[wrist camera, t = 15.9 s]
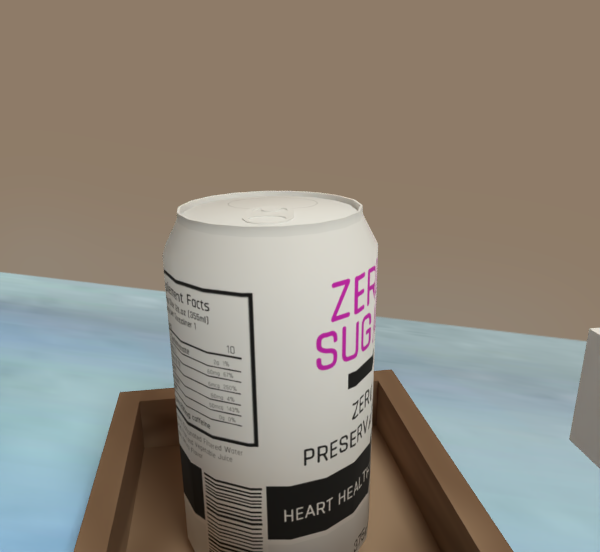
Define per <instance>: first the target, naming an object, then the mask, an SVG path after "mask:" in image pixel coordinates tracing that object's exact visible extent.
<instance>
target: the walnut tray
mask: <svg viewBox="0 0 600 552" xmlns="http://www.w3.org/2000/svg"><path fill="white" fill-rule="evenodd" d="M74 552H195V551H194V549H193V547H192V545H191V543H190V541H189V539H188V533H187V522H186V511H185V500H184V488H183V477H182V466H181V455H180V444H179V433H178V421H177V410H176V399H175V388H166V389H154V390H142V391H130V392H120V394H119V397H118V401H117V404H116V408H115V411H114V415H113V418H112V421H111V425H110V428H109V432H108V435H107V439H106V442H105V446H104V449H103V452H102V456H101V459H100V463H99V466H98V470H97V473H96V477H95V480H94V483H93V487H92V490H91V494H90V497H89V501H88V504H87V507H86V511H85V514H84V518H83V521H82V525H81V528H80V532H79V535H78V538H77V542H76V545H75V549H74ZM358 552H513V550H512V549H511V547H510V546H509V544H508V543H507V541H506V540H505V538H504V537H503V535H502V534H501V532H500V531H499V529H498V528H497V526H496V525H495V523H494V522H493V520H492V519H491V517H490V516H489V514H488V513H487V511H486V510H485V508H484V507H483V505H482V504H481V502H480V501H479V499H478V498H477V496H476V495H475V493H474V492H473V490H472V489H471V487H470V486H469V484H468V483H467V481H466V480H465V478H464V477H463V475H462V474H461V472H460V471H459V469H458V468H457V466H456V465H455V464H454V462H453V461H452V459H451V458H450V456H449V455H448V453H447V452H446V450H445V449H444V447H443V446H442V444H441V443H440V441H439V440H438V438H437V437H436V435H435V434H434V432H433V431H432V429H431V428H430V426H429V425H428V423H427V422H426V420H425V419H424V417H423V416H422V414H421V413H420V411H419V410H418V408H417V407H416V405H415V404H414V402H413V401H412V399H411V398H410V396H409V395H408V393H407V392H406V390H405V389H404V387H403V386H402V384H401V383H400V381H399V380H398V378H397V377H396V375H395V374H394V372H393V371H392V370H382V371H374V379H373V409H372V439H371V470H370V500H369V519H368V529H367V538H366V539H365V541H364V543H363V544H362V546H361V547H360V549H359V550H358Z"/></svg>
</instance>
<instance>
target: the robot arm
mask: <svg viewBox="0 0 600 552" xmlns="http://www.w3.org/2000/svg"><path fill="white" fill-rule="evenodd" d="M569 440H570V441H571V442H572V443H574V444H575V445H576V446H577V447H578V448H579V449H580V450H581V451H582V452H583V453H584V454H585V455H586V456H587V457H588V458H589V459H590V460H591V461H592V462H593V463H595V464H596V465H597V466H598V467H599V468H600V328H591V329H589V334H588V339H587V345H586V350H585V356H584V361H583V367H582V372H581V378H580V383H579V389H578V394H577V400H576V405H575V411H574V416H573V422H572V427H571V433H570V438H569Z"/></svg>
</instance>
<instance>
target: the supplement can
mask: <svg viewBox="0 0 600 552" xmlns="http://www.w3.org/2000/svg"><path fill="white" fill-rule="evenodd" d="M362 210H363V206H362V204H360V203H358V202H357V201H356V200H354V199H350V198H347V197H343V196H339V195H333V194H325V193H317V192H301V191H255V192H243V193H242V192H240V193H230V194H223V195H215V196H209V197H205V198H200V199H196V200H192V201H189V202H187V203H185V204H183V205H181V206H179V207H178V210H177V220H176V222H175V225H174V227H173V229H172V232H171V234H170V236H169V238H168V241H167V243H166V245H165V248H164V253H163V263H164V264H163V265H164V275H165V286H166V298H167V310H168V321H169V332H170V343H171V354H172V366H173V377H174V388H175V399H176V410H177V421H178V433H179V444H180V455H181V466H182V477H183V488H184V500H185V511H186V522H187V533H188V539H189V541H190V543H191V545H192V547H193V549H194V551H195V552H358V550H359V549H360V547H361V546H362V544H363V543H364V541H365V539H366V538H367V529H368V519H369V500H370V470H371V439H372V409H373V379H374V349H375V319H376V289H377V287H376V286H377V258H378V243H377V241H376V239H375V237H374V236H373V233H372V232H371V230H370V228H369V226H368V223H367V222H366V219H365V217H364V215H363V213H362V212H363V211H362Z"/></svg>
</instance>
